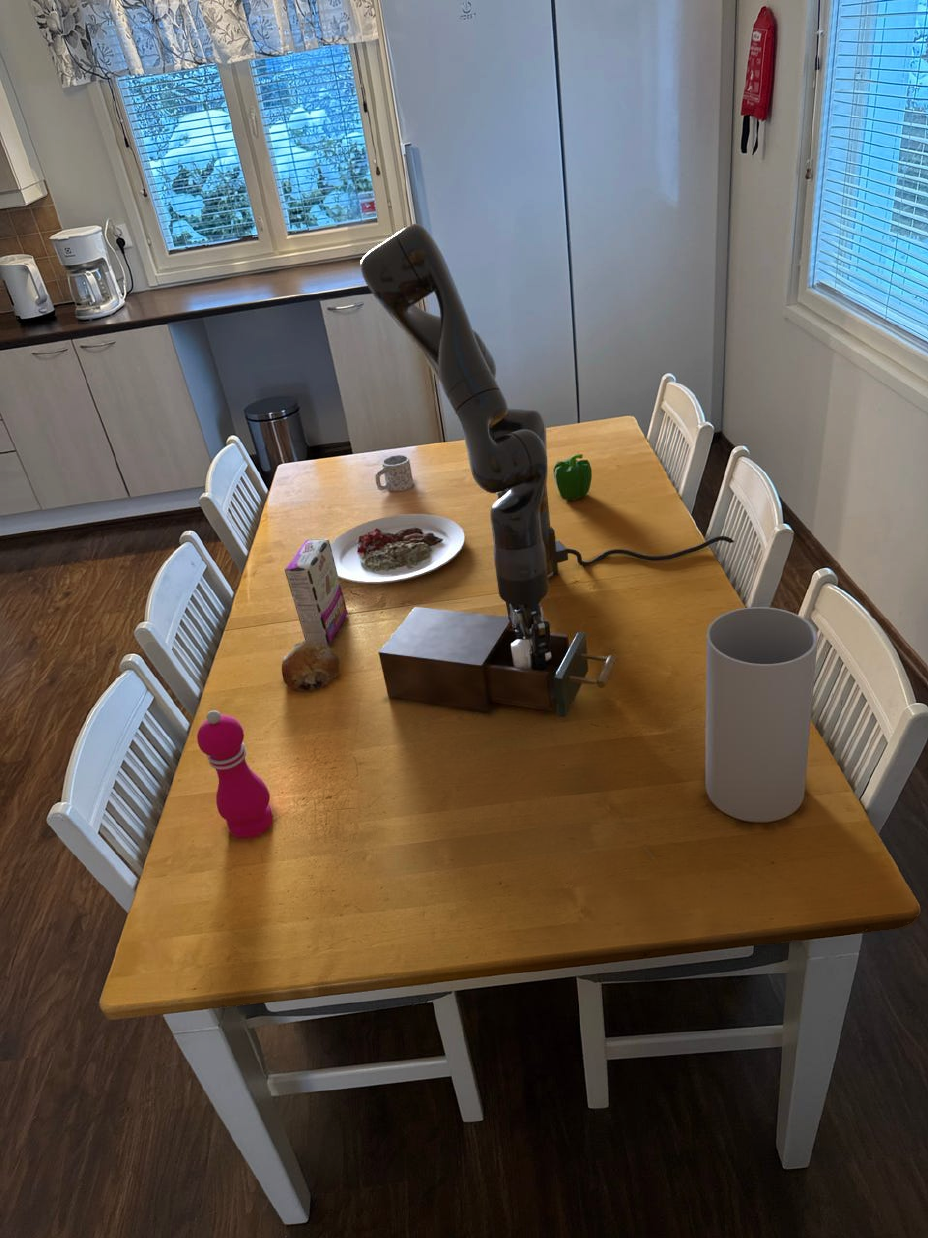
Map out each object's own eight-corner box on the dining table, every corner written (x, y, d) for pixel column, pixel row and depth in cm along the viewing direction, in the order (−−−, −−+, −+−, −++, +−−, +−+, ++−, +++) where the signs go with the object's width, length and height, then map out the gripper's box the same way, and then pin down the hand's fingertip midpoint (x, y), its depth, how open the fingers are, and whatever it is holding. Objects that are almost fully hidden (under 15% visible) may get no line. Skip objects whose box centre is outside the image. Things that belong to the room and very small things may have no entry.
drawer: (623, 674, 145) (621, 635, 141) (602, 723, 135) (599, 683, 131) (493, 658, 154) (488, 621, 150) (464, 703, 144) (458, 665, 140)
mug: (402, 477, 228) (397, 452, 224) (418, 483, 223) (414, 458, 220) (370, 492, 222) (365, 467, 219) (387, 498, 218) (382, 472, 214)
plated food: (437, 593, 176) (434, 578, 174) (301, 585, 186) (297, 571, 185) (484, 523, 200) (482, 509, 198) (361, 519, 210) (358, 506, 208)
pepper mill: (229, 809, 132) (189, 699, 121) (279, 801, 132) (242, 691, 121) (222, 845, 126) (179, 733, 115) (274, 837, 126) (235, 724, 115)
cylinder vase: (698, 816, 118) (698, 659, 105) (713, 754, 128) (715, 603, 115) (799, 833, 114) (813, 671, 100) (807, 767, 123) (821, 611, 110)
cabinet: (518, 663, 153) (512, 617, 148) (488, 714, 142) (481, 665, 138) (423, 651, 160) (414, 606, 155) (388, 698, 149) (378, 652, 145)
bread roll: (350, 684, 161) (350, 639, 159) (321, 696, 151) (321, 648, 150) (301, 679, 164) (300, 635, 163) (269, 690, 154) (269, 644, 153)
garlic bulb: (555, 676, 141) (553, 648, 138) (516, 682, 141) (513, 654, 138) (549, 656, 145) (547, 628, 142) (512, 661, 145) (509, 633, 142)
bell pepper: (548, 501, 205) (544, 459, 199) (566, 486, 210) (563, 445, 205) (581, 506, 200) (578, 464, 195) (598, 491, 206) (596, 449, 200)
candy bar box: (324, 613, 176) (305, 538, 167) (348, 613, 174) (330, 537, 166) (304, 646, 166) (282, 568, 158) (329, 646, 165) (309, 568, 157)
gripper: (563, 580, 128) (572, 677, 137) (527, 539, 140) (537, 630, 149) (513, 594, 127) (525, 691, 136) (481, 551, 139) (494, 643, 147)
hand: (531, 659), depth 142 cm, fingers open, 6 cm apart
